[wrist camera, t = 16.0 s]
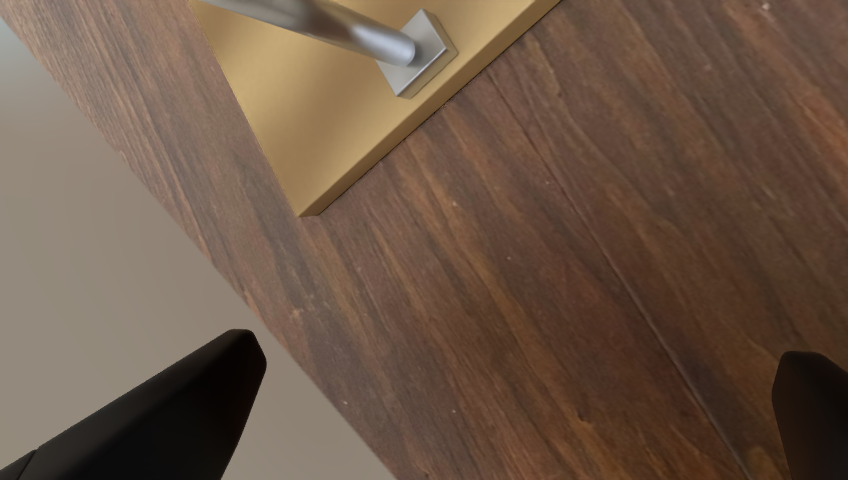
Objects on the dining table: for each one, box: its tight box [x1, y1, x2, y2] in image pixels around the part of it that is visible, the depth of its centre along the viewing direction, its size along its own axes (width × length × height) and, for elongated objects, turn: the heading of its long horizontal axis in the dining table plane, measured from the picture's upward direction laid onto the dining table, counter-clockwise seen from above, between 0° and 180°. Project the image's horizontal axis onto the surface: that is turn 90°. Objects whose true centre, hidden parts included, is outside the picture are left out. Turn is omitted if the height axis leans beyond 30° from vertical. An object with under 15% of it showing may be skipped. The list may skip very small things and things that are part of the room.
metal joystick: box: [200, 0, 458, 100], centre depth 15 cm, size 3×2×11 cm
